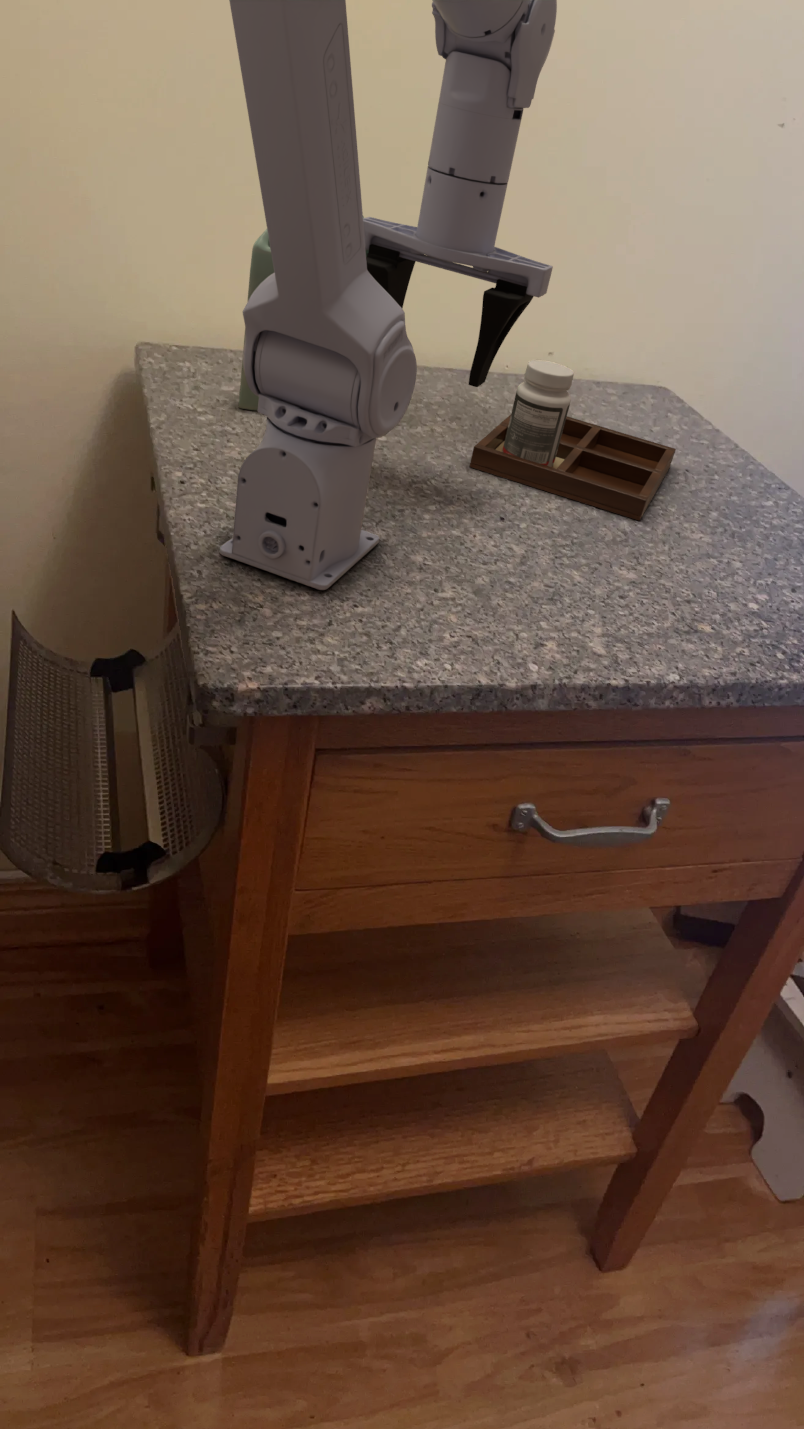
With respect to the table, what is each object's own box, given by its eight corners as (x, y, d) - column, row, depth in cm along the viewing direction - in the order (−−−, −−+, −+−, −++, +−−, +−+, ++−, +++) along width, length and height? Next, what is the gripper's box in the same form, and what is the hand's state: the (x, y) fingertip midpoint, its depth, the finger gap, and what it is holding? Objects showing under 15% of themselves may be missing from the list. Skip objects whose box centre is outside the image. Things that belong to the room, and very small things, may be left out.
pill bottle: (520, 446, 95) (542, 354, 90) (562, 465, 93) (588, 372, 88) (490, 455, 91) (512, 361, 87) (534, 475, 89) (559, 379, 84)
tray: (639, 521, 87) (646, 500, 86) (469, 467, 90) (473, 446, 89) (669, 467, 99) (676, 448, 98) (518, 421, 102) (523, 402, 101)
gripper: (580, 195, 74) (533, 384, 81) (394, 149, 77) (366, 334, 84) (554, 203, 68) (506, 405, 76) (355, 152, 71) (329, 351, 79)
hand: (430, 369), depth 80 cm, fingers open, 7 cm apart
